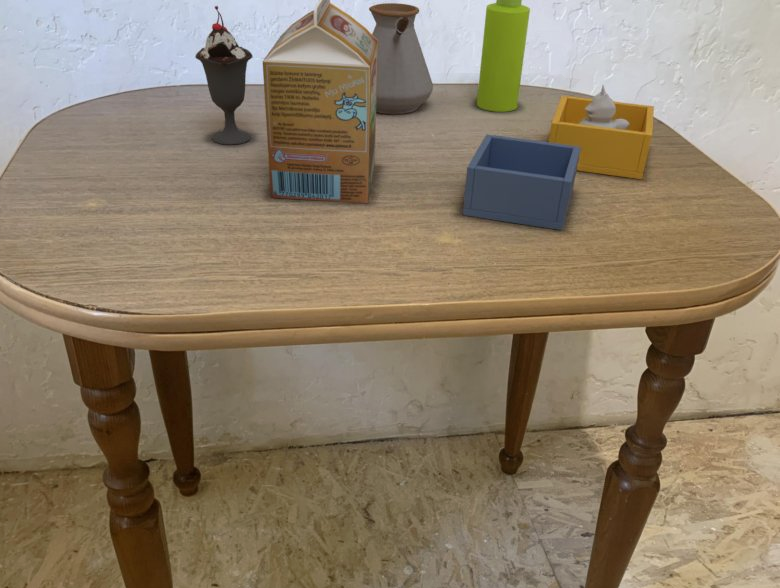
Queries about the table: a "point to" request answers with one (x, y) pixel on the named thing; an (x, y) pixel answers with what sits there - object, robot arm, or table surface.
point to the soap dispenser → (502, 55)
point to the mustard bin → (605, 137)
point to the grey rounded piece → (603, 113)
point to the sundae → (225, 79)
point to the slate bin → (521, 181)
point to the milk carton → (322, 108)
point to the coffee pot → (399, 60)
